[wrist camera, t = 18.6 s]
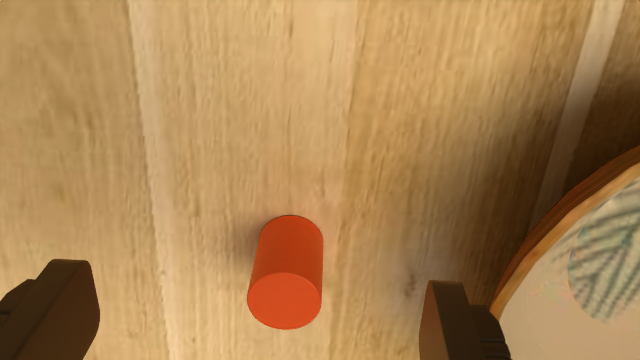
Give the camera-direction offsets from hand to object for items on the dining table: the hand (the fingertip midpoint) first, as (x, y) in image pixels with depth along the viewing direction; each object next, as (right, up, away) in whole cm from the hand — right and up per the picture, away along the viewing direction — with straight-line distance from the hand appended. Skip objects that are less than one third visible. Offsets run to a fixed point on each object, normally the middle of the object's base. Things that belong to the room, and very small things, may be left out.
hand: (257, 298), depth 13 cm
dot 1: (0, -1, +18) cm, 18 cm away
